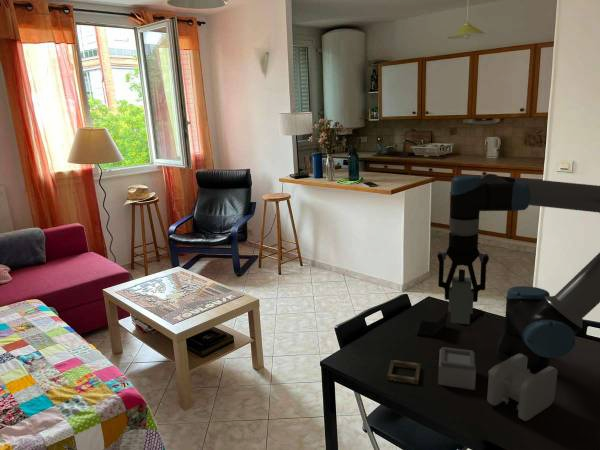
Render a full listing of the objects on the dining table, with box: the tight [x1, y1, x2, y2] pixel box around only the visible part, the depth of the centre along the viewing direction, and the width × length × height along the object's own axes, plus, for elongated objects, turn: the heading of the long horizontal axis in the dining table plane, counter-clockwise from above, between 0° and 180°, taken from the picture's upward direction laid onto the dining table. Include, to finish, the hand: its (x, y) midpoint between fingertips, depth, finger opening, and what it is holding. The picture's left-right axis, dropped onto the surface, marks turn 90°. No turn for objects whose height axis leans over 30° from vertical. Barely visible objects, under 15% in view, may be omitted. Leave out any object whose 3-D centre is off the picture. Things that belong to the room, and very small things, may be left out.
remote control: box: [456, 307, 484, 327], centre depth 170 cm, size 5×2×15 cm
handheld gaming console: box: [416, 312, 449, 339], centre depth 160 cm, size 12×7×10 cm
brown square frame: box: [386, 359, 421, 386], centre depth 135 cm, size 9×9×2 cm
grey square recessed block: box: [437, 346, 477, 391], centre depth 132 cm, size 10×10×7 cm
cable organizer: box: [486, 354, 558, 422], centre depth 118 cm, size 15×11×12 cm
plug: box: [450, 268, 472, 325], centre depth 126 cm, size 5×5×15 cm
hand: (460, 310), depth 127 cm, fingers closed on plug, 5 cm apart
